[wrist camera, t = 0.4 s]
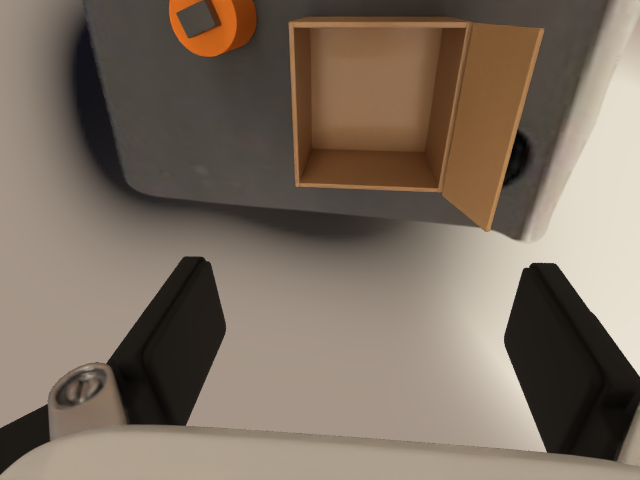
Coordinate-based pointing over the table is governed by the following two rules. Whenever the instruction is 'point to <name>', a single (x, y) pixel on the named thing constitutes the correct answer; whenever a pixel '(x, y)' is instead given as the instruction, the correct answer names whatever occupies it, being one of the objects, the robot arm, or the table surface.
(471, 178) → the flap
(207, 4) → the orange cylinder
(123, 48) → the table surface
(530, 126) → the table surface
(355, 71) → the carton
